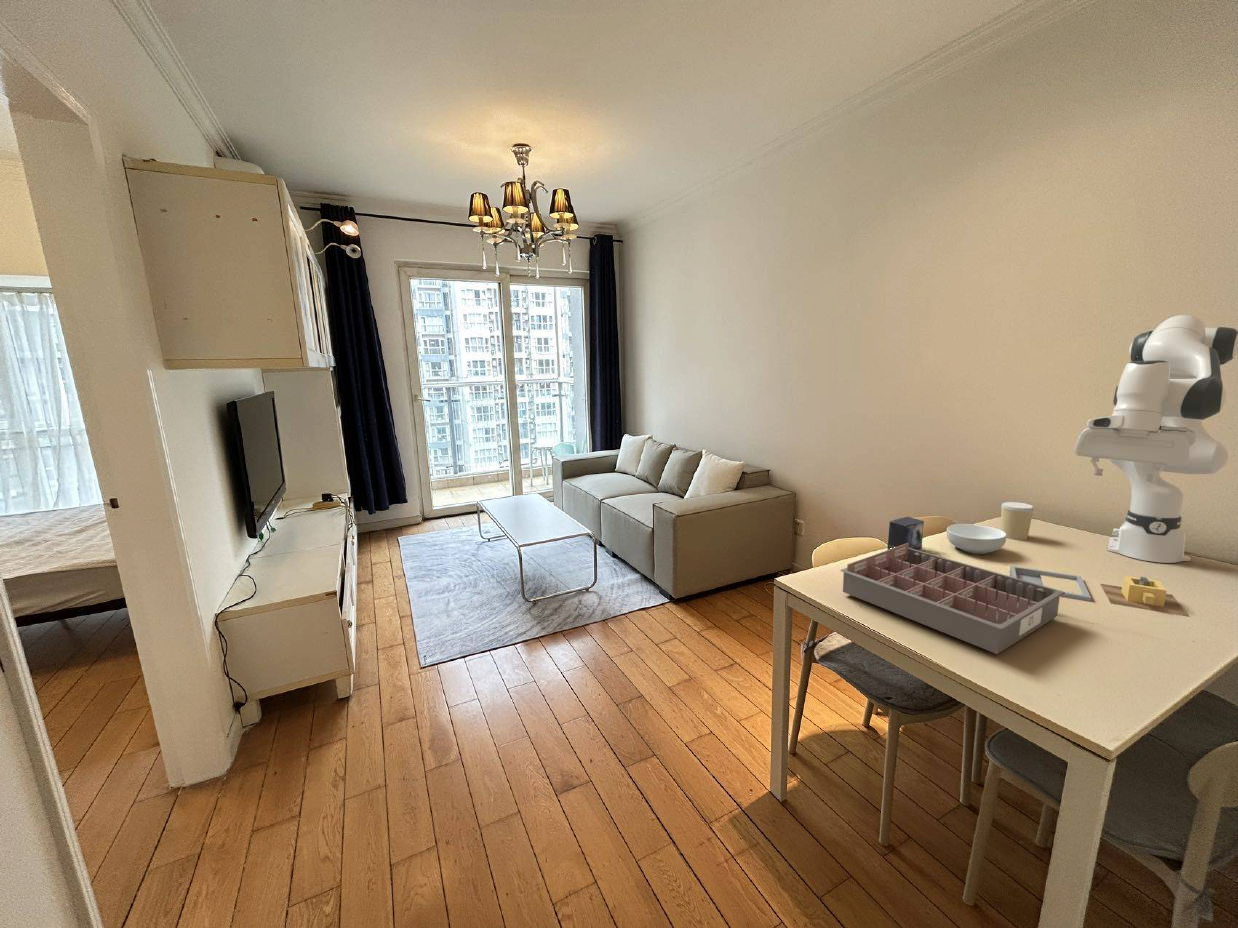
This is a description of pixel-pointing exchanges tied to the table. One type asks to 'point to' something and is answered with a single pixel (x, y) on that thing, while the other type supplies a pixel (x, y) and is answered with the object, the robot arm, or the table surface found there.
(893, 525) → the small box
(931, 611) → the organizer tray
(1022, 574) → the tray
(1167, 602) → the board with post
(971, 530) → the cereal bowl
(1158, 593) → the collar
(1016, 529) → the coffee cup
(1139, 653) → the table surface
